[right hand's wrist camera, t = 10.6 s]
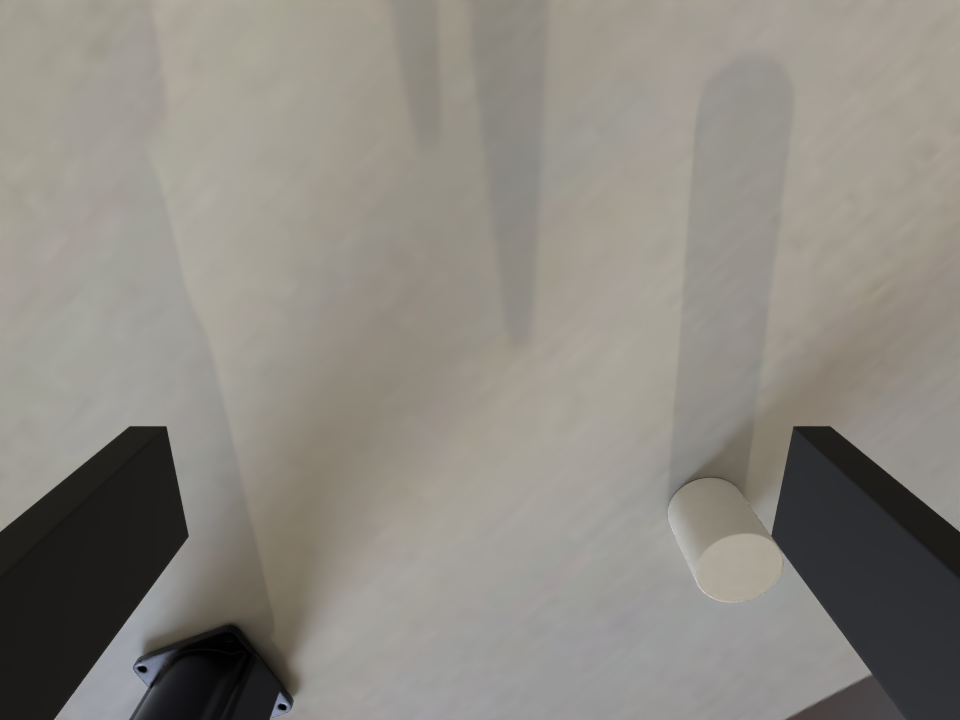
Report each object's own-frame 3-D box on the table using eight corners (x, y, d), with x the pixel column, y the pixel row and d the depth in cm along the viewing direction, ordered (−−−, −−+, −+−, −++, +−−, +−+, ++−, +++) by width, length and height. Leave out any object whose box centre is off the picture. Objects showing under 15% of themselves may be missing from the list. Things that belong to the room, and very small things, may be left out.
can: (654, 498, 29) (680, 557, 25) (725, 464, 28) (763, 518, 24) (686, 551, 30) (716, 615, 26) (755, 520, 29) (797, 580, 25)
